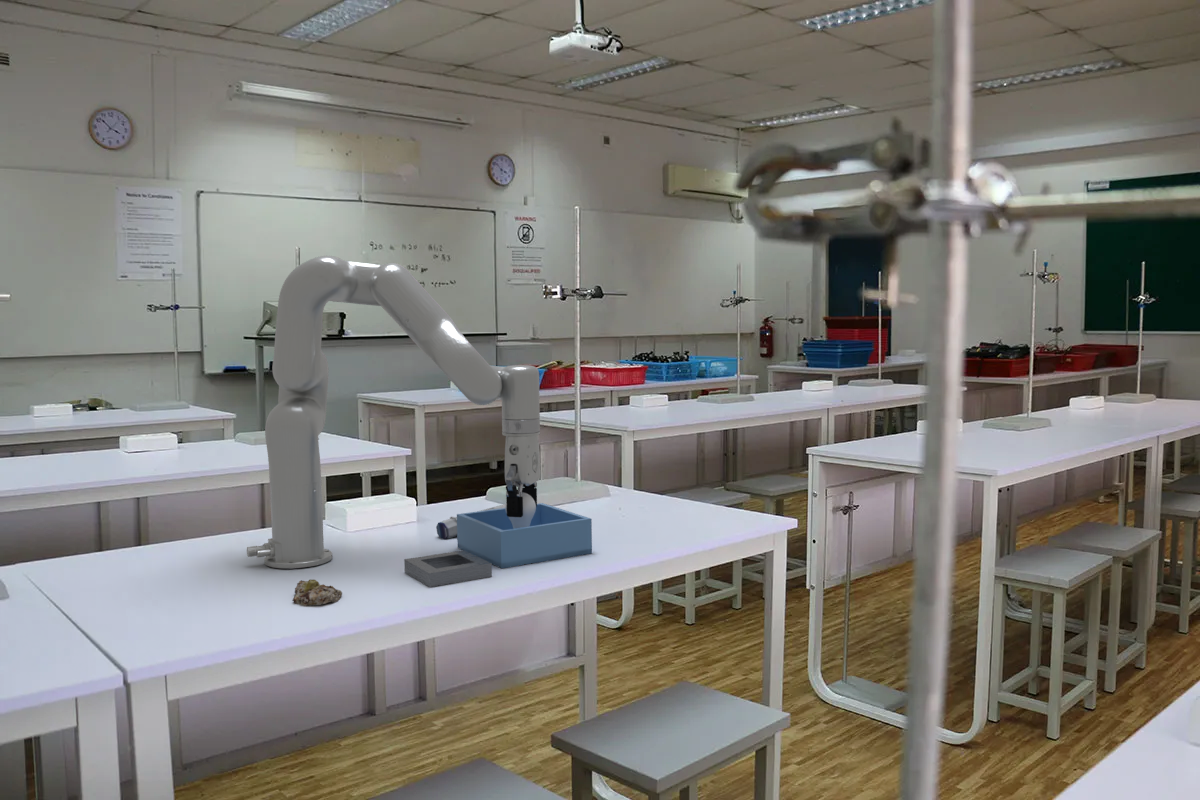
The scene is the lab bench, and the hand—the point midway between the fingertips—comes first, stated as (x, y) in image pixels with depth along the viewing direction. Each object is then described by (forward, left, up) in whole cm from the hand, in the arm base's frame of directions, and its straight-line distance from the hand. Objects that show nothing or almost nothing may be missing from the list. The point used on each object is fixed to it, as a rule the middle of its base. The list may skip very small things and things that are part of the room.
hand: (522, 511), depth 192 cm
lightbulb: (0, -1, -7) cm, 7 cm away
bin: (0, 0, -8) cm, 8 cm away
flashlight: (+3, +22, -9) cm, 24 cm away
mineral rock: (-44, -9, -9) cm, 46 cm away
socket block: (-20, -8, -8) cm, 23 cm away
